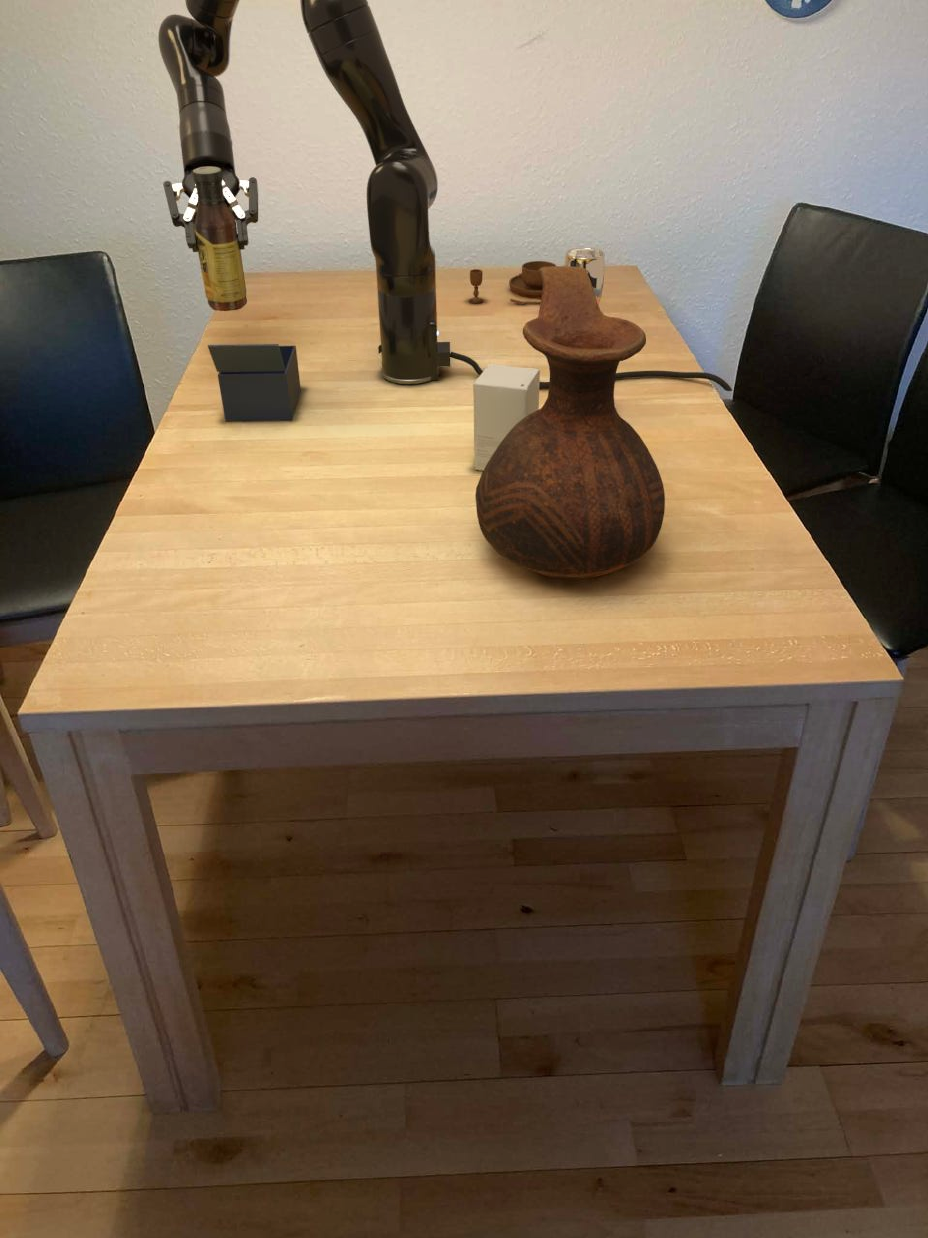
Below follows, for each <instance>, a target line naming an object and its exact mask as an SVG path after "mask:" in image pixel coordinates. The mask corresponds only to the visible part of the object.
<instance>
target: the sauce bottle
mask: <svg viewBox="0 0 928 1238" xmlns="http://www.w3.org/2000/svg"><path fill="white" fill-rule="evenodd" d="M193 178H194V181H195V183H196V188H197V195H198V208H197V214H196V220H195V226H194V230H195V236H196V242H197V248H198V252H197V253H198V258H199V264H200V271H201V276H202V281H203V288H204V294H205V298H206V299H207V304H208V306H209V307H210V308H211V309H212V310H213V311H215V312H216V311H219V312H231V311H238V310H241V309H242V308H244V307H245V306H246V305H247V303H248V298H247V286H246V285H247V284H246V278H245V271H244V266H243V265H244V264H243V259H242V250H240V246H239V239H238V231H237V223H236V220H235V217H234V215H233V213H232V211H231V210H230V209H229V208H228V206H227V205H226V203H225V202H224V201H225V197H224V194H223V187H222V179H223V178H222V172H221V169H220V168H218V167H212V166H211V167H210V166H208V167H200V168H197V169H194V170H193Z"/></svg>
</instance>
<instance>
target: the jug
mask: <svg viewBox="0 0 928 1238" xmlns="http://www.w3.org/2000/svg"><path fill="white" fill-rule="evenodd" d="M538 273H539V275H540V277H541V279H542V284H543V291H542V298H540V302H541V303H539V310H538V316H537V317H535V318H534V319H531V320H529V321H527V322H525V324H524V325H523V327H522V336H523V337H524V339H525V341H526V342H527V343H528V344H529V346H531V347H532V348H533V349H534V350H535V351H538V352H539V353H540V354H542V355H543V356H545V358H546V361H547V363H548V368H549V380H548V382H549V388H548V391H547V392H548V393H547V397H546V399H545V402H544V404H543V405H542V406H541V408H539V410H537V411H535V412H533V413H530V414H529V415H528V416H525V418H523V419H522V420H521V421H519V422H518V423H517V424H516V425H515V426H514V427H513V428H512V429H511V430H510V431H509V433H508V434H507V435H506V437H505V438H504V439H503V440H502V442H501V443H500V444H499V446H498V447H497V449H496V450H495V452H494V453H493V455H492V457H491V458H490V460H489V461H488V463H487V465H486V467H485V469H484V471H482V473H481V474H480V477H479V479H478V483H477V485H476V488H475V506H476V516H477V521H478V525H479V529H480V531H481V534H482V536H483V537H484V539H485V540H486V541H487V543H488V544H490V546H491V547H492V548H493V550H495V552H496V553H497V554H498V555H499V556H501V557H502V558H503V559H504V560H506V561H508V562H510V563H512V564H514V565H516V566H519V567H521V568H523V569H526V570H529V571H532V572H535V573H537V574H539V575H541V576H545V577H549V578H554V579H589V578H596V577H601V576H604V575H608V574H611V573H614V572H616V571H619V570H620V569H623V568H625V567H627V566H629V565H632V564H634V563H635V562H637V561H639V560H640V559H642V558H643V557H644V556H645V555H646V554H647V553H648V552H649V551H650V549H652V548H653V546H654V544H655V543H656V541H657V539H658V537H659V535H660V532H661V530H662V527H663V523H664V518H665V511H666V510H665V509H666V508H665V507H666V495H665V487H664V482H663V480H662V476H661V474H660V471H659V468H658V466H657V464H656V462H655V460H654V458H653V456H652V453H650V450H649V448H648V447H647V445H646V443H645V442H644V440H643V439H642V437H641V436H640V435H639V433H638V432H637V431H636V430H635V428H634V427H633V426H632V424H630V423H629V422H628V421H626V420H625V419H623V417H621V416H620V414H619V412H618V410H617V409H616V406H615V383H616V379H615V376H616V373H617V371H618V368H619V367H618V366H619V365H620V362H623V361H627V360H629V359H630V358H632V357H634V356H635V355H637V354H638V353H640V352H641V351H642V350H643V349H644V347H645V346H646V345H647V336H646V332H645V331H644V330H643V329H642V328H641V327H640V326H639V325H638V324H636V323H635V322H632V321H630V320H627V319H625V318H619V317H615V316H614V317H613V316H608V315H605V314H604V313H603V312H602V310H601V309H600V305H599V306H598V303H597V300H596V297H595V293H594V290H593V287H592V284H591V281H590V278H589V276H588V273H587V271H586V269H585V268H582V267H569V266H565V265H561V266H559V265H558V266H557V265H556V266H551V267H542V268H540V269H539V270H538Z"/></svg>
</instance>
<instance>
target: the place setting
mask: <svg viewBox="0 0 928 1238" xmlns="http://www.w3.org/2000/svg"><path fill="white" fill-rule="evenodd" d="M551 266H557V265H556V264H555V263H553V262H550V261H545V260H533V261H532V260H531V261H527V262H525V263H523V264H522V265H521V273H518V274H517V275H514V276H513V277H511V278H510V279H509V281H508V285H509V288H510V289H511V291H513V292H514V293H515V294H518V295H519V296H522V297H526V298H533V299H541V298H542V291H543V284H542V279H541V277H540V275H539V273H538V270H539V269H540V268H542V267H551ZM469 282H470V285H471V286H473V289H474V290H473V296H474V297H473V298H470V299H469V300H468V302H469V303H470V304H474V305H479V304H483V302H484V299H483V298H479V295H480V291H479V286H481V285H482V283H483V270H482V269H478V268H473V269H470V270H469ZM510 302H512V303H515V304H519V305H525V304H540V303H541V301H519V300H517V299H512V298H510Z"/></svg>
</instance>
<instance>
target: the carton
mask: <svg viewBox="0 0 928 1238" xmlns="http://www.w3.org/2000/svg"><path fill="white" fill-rule="evenodd" d="M279 348H280V352H281V356H282V359H283V363H284V367H285V371H257V372H218V374H217V381H218V385H219V391H220V397H221V403H222V410H223V414H224V420H225V422H270V421H271V422H281V421H283V422H284V421H287V422H288V421H293V418H294V414H295V410H296V408H297V405H298V400H299V397H300V394H301V390H302V388H301V380H300V372H299V361H298V354H297V346H296V345H279Z"/></svg>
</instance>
